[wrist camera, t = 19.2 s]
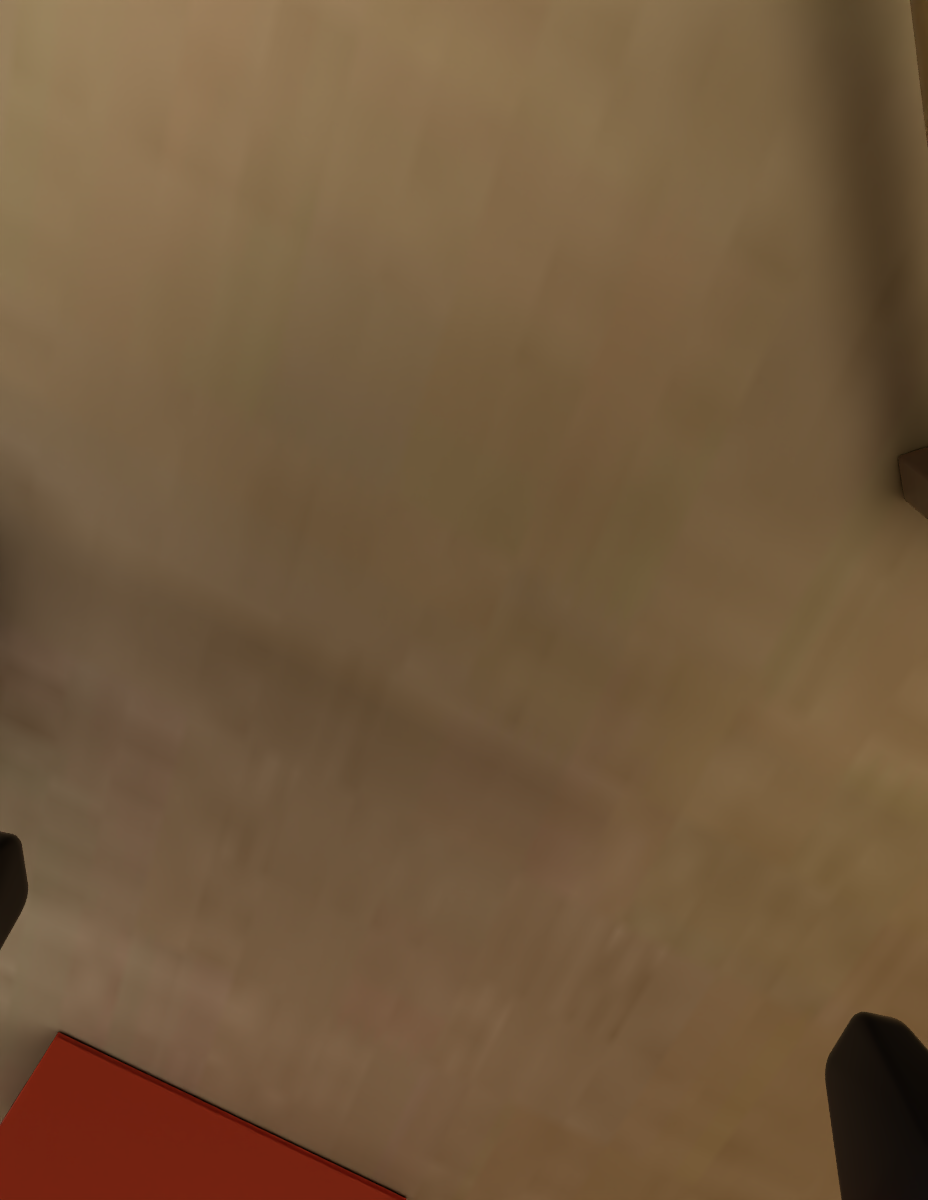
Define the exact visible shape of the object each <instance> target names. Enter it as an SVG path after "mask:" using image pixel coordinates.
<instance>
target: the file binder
mask: <svg viewBox="0 0 928 1200" xmlns="http://www.w3.org/2000/svg"><path fill="white" fill-rule="evenodd" d="M0 1200H406V1198H404V1197H402V1196H400V1195H398V1194H396V1193H394V1192H392V1191H390V1190H388V1189H386V1188H383V1187H381V1186H379V1185H377V1184H375V1183H373V1182H371V1181H369V1180H367V1179H365V1178H363V1177H360V1176H358V1175H356V1174H354V1173H352V1172H350V1171H348V1170H346V1169H344V1168H342V1167H340V1166H337V1165H335V1164H333V1163H331V1162H329V1161H327V1160H325V1159H323V1158H321V1157H319V1156H317V1155H314V1154H312V1153H310V1152H308V1151H306V1150H304V1149H302V1148H300V1147H298V1146H296V1145H294V1144H292V1143H289V1142H287V1141H285V1140H283V1139H281V1138H279V1137H277V1136H275V1135H273V1134H271V1133H269V1132H266V1131H264V1130H262V1129H260V1128H258V1127H256V1126H254V1125H252V1124H250V1123H248V1122H246V1121H243V1120H241V1119H239V1118H237V1117H235V1116H233V1115H231V1114H229V1113H227V1112H225V1111H223V1110H220V1109H218V1108H216V1107H214V1106H212V1105H210V1104H208V1103H206V1102H204V1101H202V1100H200V1099H197V1098H195V1097H193V1096H191V1095H189V1094H187V1093H185V1092H183V1091H181V1090H179V1089H177V1088H174V1087H172V1086H170V1085H168V1084H166V1083H164V1082H162V1081H160V1080H158V1079H156V1078H154V1077H151V1076H149V1075H147V1074H145V1073H143V1072H141V1071H139V1070H137V1069H135V1068H133V1067H131V1066H128V1065H126V1064H124V1063H122V1062H120V1061H118V1060H116V1059H114V1058H112V1057H110V1056H108V1055H105V1054H103V1053H101V1052H99V1051H97V1050H95V1049H93V1048H91V1047H89V1046H87V1045H85V1044H82V1043H80V1042H78V1041H76V1040H74V1039H72V1038H70V1037H68V1036H66V1035H64V1034H62V1033H59V1032H58V1034H57V1035H56V1037H55V1038H54V1040H53V1042H52V1043H51V1045H50V1046H49V1048H48V1049H47V1051H46V1053H45V1054H44V1056H43V1057H42V1059H41V1061H40V1062H39V1064H38V1065H37V1067H36V1068H35V1070H34V1072H33V1073H32V1075H31V1076H30V1078H29V1080H28V1081H27V1083H26V1084H25V1086H24V1087H23V1089H22V1091H21V1092H20V1094H19V1095H18V1097H17V1099H16V1100H15V1102H14V1103H13V1105H12V1106H11V1108H10V1110H9V1111H8V1113H7V1114H6V1116H5V1118H4V1119H3V1121H2V1122H1V1124H0Z"/></svg>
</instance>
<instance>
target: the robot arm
mask: <svg viewBox="0 0 928 1200" xmlns="http://www.w3.org/2000/svg"><path fill="white" fill-rule="evenodd" d="M27 894H28V882H27V876H26V869H25V863H24V856H23V850H22V844H21V841H20V840H19V838H18V837H17V836H16V835H13V834H10V833H5V832H0V949H1V948H2V946H3V944H4V942H5V940H6V939H7V937H8V935H9V933H10V931H11V930H12V928H13V926H14V924H15V922H16V921H17V919H18V917H19V915H20V914H21V912H22V910H23V907H24V905H25V902H26V899H27ZM825 1081H826V1089H827V1096H828V1104H829V1111H830V1118H831V1126H832V1133H833V1140H834V1148H835V1155H836V1162H837V1169H838V1177H839V1184H840V1191H841V1199H842V1200H928V1050H927V1048H926V1047H925V1046H924V1045H923V1044H922V1043H921V1042H920V1040H919V1039H918V1038H917V1037H916V1036H915V1035H914V1033H913V1032H912V1031H911V1030H910V1029H909V1028H908V1027H907V1026H906V1025H905V1024H904V1023H902V1022H901V1021H899V1020H898V1019H895V1018H892V1017H887V1016H883V1015H878V1014H873V1013H868V1012H860V1013H857V1014H855V1015H854V1016H853V1017H852V1019H851V1020H850V1022H849V1023H848V1025H847V1027H846V1028H845V1030H844V1032H843V1033H842V1035H841V1036H840V1038H839V1040H838V1041H837V1043H836V1045H835V1046H834V1048H833V1049H832V1051H831V1053H830V1054H829V1057H828V1059H827V1063H826V1070H825Z"/></svg>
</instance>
